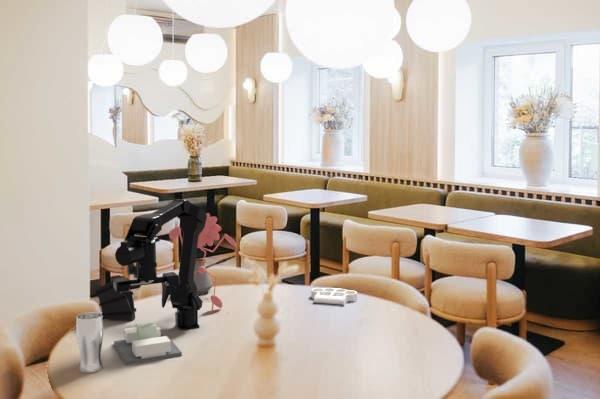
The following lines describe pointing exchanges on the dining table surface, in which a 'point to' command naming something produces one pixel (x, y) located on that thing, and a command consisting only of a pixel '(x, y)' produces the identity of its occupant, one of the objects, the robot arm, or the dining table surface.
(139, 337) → the block
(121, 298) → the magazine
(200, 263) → the coffee pot
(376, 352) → the dining table surface
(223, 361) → the dining table surface
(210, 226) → the figurine
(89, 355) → the beer glass
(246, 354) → the dining table surface
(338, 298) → the white holed tray
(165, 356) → the rail panel
